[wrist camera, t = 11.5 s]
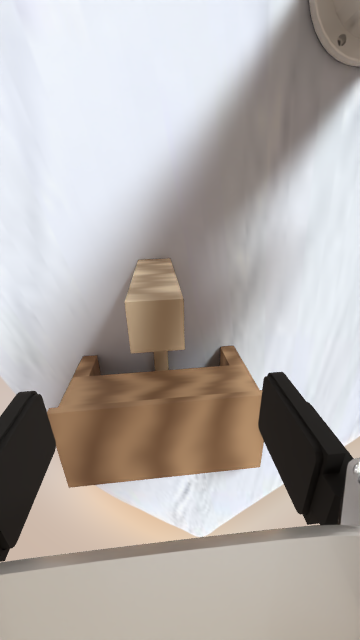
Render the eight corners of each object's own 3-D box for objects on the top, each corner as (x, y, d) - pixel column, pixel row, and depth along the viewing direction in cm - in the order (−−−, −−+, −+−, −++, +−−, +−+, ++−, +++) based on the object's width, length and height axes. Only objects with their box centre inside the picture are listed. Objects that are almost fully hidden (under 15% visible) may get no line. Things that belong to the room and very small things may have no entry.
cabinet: (237, 341, 38) (270, 394, 27) (232, 404, 43) (259, 470, 32) (78, 353, 36) (46, 413, 25) (92, 417, 41) (70, 491, 30)
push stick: (205, 256, 32) (247, 295, 18) (203, 397, 41) (231, 500, 27) (101, 261, 31) (55, 306, 17) (123, 404, 40) (105, 515, 26)
